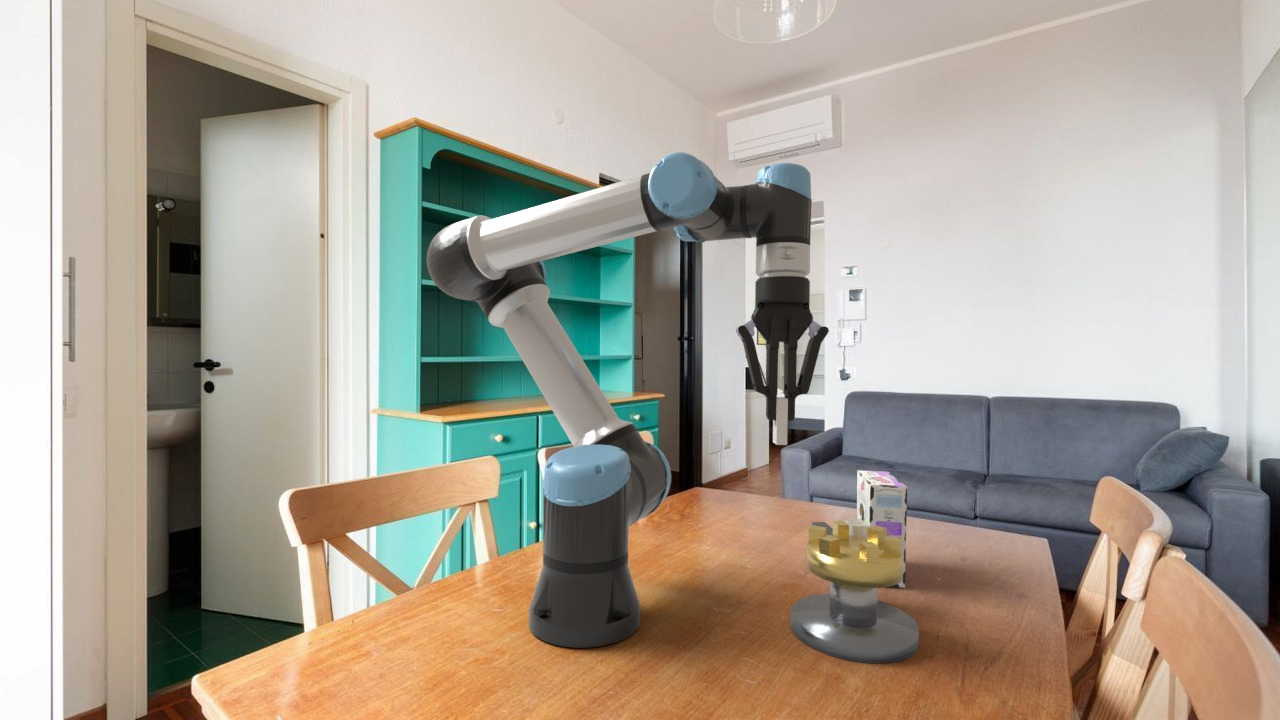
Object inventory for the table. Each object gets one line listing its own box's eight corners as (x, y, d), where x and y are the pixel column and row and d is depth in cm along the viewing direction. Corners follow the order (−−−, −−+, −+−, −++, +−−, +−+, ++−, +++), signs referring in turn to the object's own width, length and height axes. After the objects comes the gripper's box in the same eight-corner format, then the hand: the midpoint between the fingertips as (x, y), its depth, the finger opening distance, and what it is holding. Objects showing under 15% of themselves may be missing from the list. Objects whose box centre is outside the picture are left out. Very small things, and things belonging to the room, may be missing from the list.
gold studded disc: (780, 537, 94) (780, 505, 93) (855, 537, 94) (856, 506, 94) (824, 588, 73) (825, 547, 73) (920, 588, 74) (921, 547, 74)
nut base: (807, 661, 72) (809, 562, 72) (774, 594, 92) (775, 517, 92) (941, 665, 71) (943, 565, 71) (879, 597, 91) (880, 519, 91)
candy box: (906, 589, 95) (908, 486, 95) (867, 586, 96) (869, 484, 96) (888, 560, 108) (890, 470, 108) (854, 557, 110) (856, 468, 109)
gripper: (740, 273, 81) (737, 446, 81) (836, 274, 81) (833, 448, 81) (732, 280, 88) (730, 439, 89) (821, 281, 88) (818, 440, 88)
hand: (779, 443), depth 85 cm, fingers closed
